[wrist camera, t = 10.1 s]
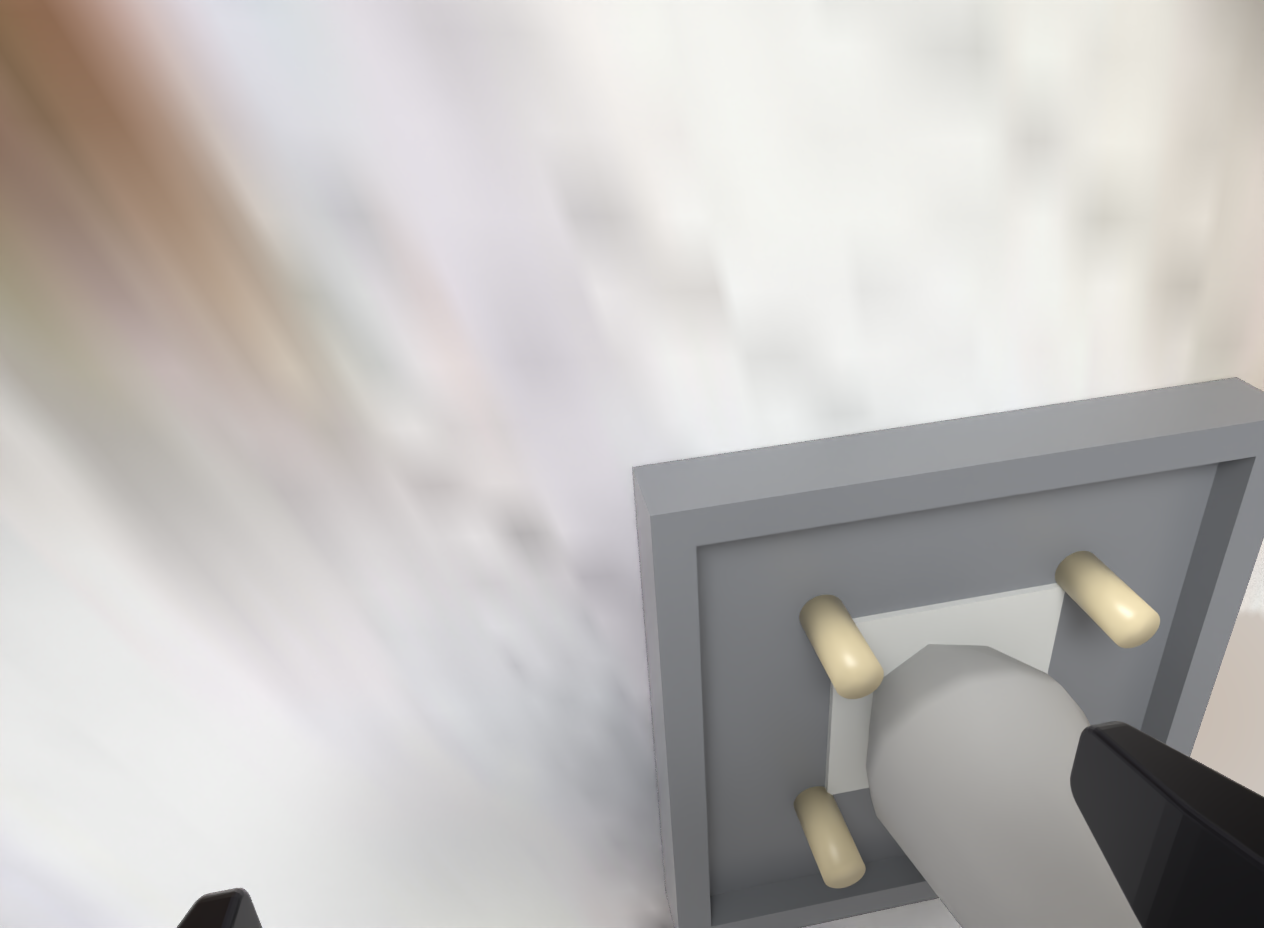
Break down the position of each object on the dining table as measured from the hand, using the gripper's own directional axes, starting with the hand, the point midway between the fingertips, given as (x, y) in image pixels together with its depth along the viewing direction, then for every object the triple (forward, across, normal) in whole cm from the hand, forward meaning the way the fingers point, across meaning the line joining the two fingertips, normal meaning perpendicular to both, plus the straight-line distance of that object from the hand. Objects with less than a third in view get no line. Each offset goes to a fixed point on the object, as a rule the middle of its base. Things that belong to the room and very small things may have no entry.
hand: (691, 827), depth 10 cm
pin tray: (+12, -10, +10) cm, 19 cm away
